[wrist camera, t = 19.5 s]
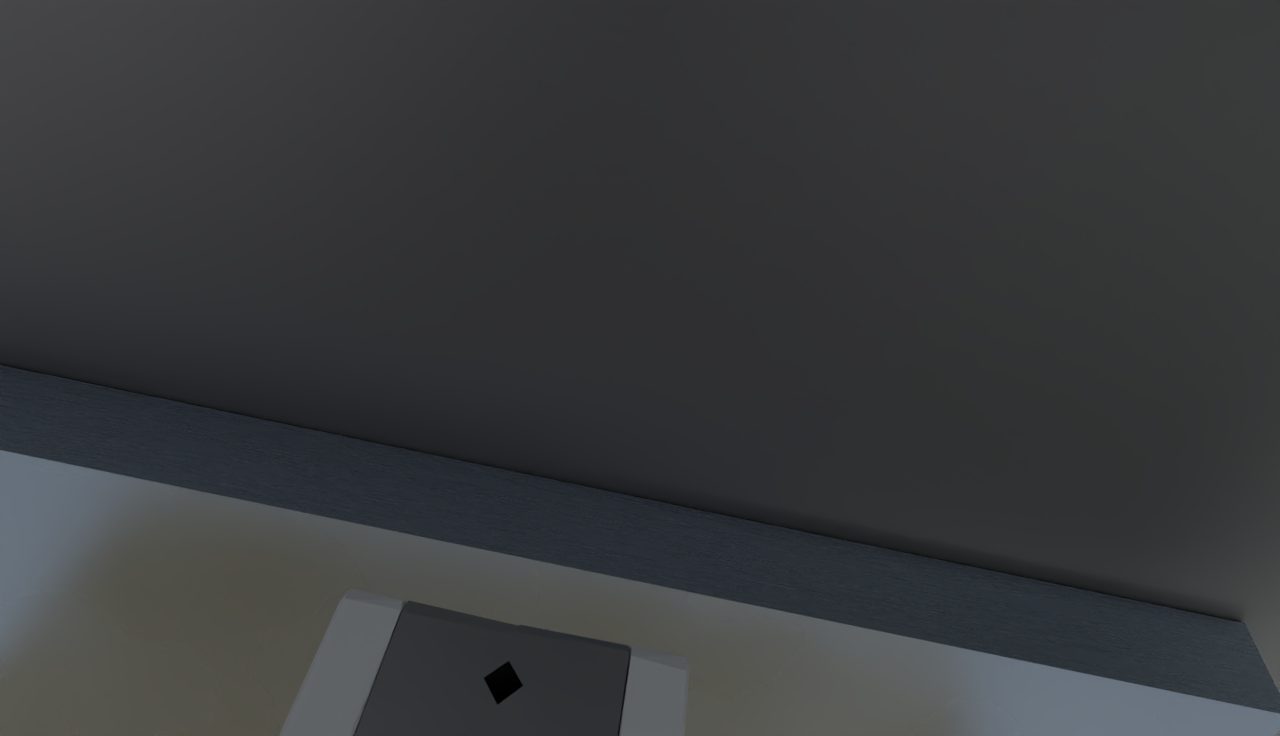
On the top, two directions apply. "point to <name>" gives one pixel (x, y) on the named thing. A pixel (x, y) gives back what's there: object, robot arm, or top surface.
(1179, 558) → the top surface
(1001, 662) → the vise base
